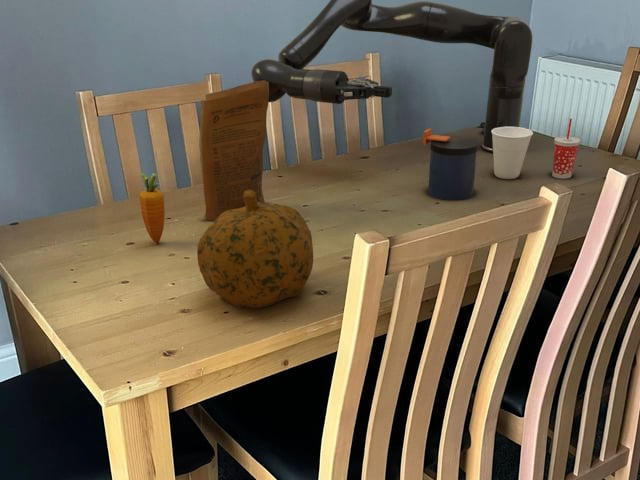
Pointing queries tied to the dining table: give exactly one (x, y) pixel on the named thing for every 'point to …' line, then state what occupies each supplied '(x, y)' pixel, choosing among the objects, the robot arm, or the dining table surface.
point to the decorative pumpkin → (256, 253)
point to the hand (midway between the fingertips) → (390, 92)
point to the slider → (433, 137)
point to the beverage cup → (564, 155)
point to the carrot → (152, 208)
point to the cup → (509, 150)
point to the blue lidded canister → (452, 168)
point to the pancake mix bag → (232, 146)
